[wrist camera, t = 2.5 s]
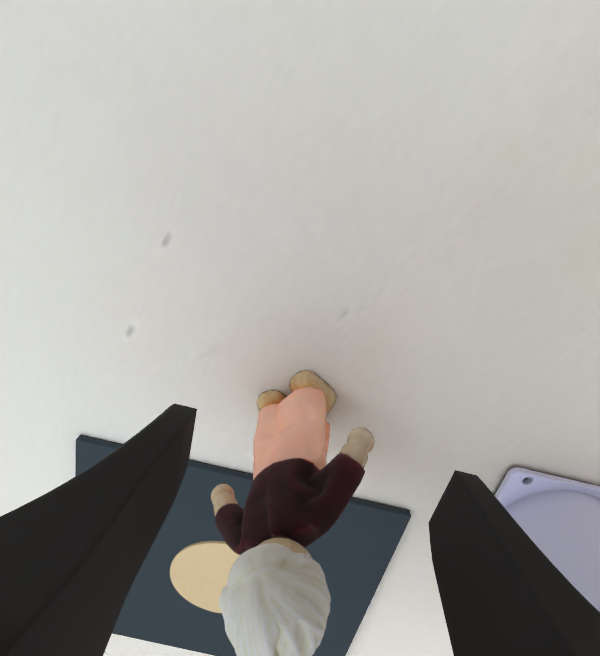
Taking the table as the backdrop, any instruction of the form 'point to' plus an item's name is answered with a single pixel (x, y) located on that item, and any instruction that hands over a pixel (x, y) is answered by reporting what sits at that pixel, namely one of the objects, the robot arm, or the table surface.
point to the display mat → (217, 559)
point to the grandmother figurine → (286, 522)
